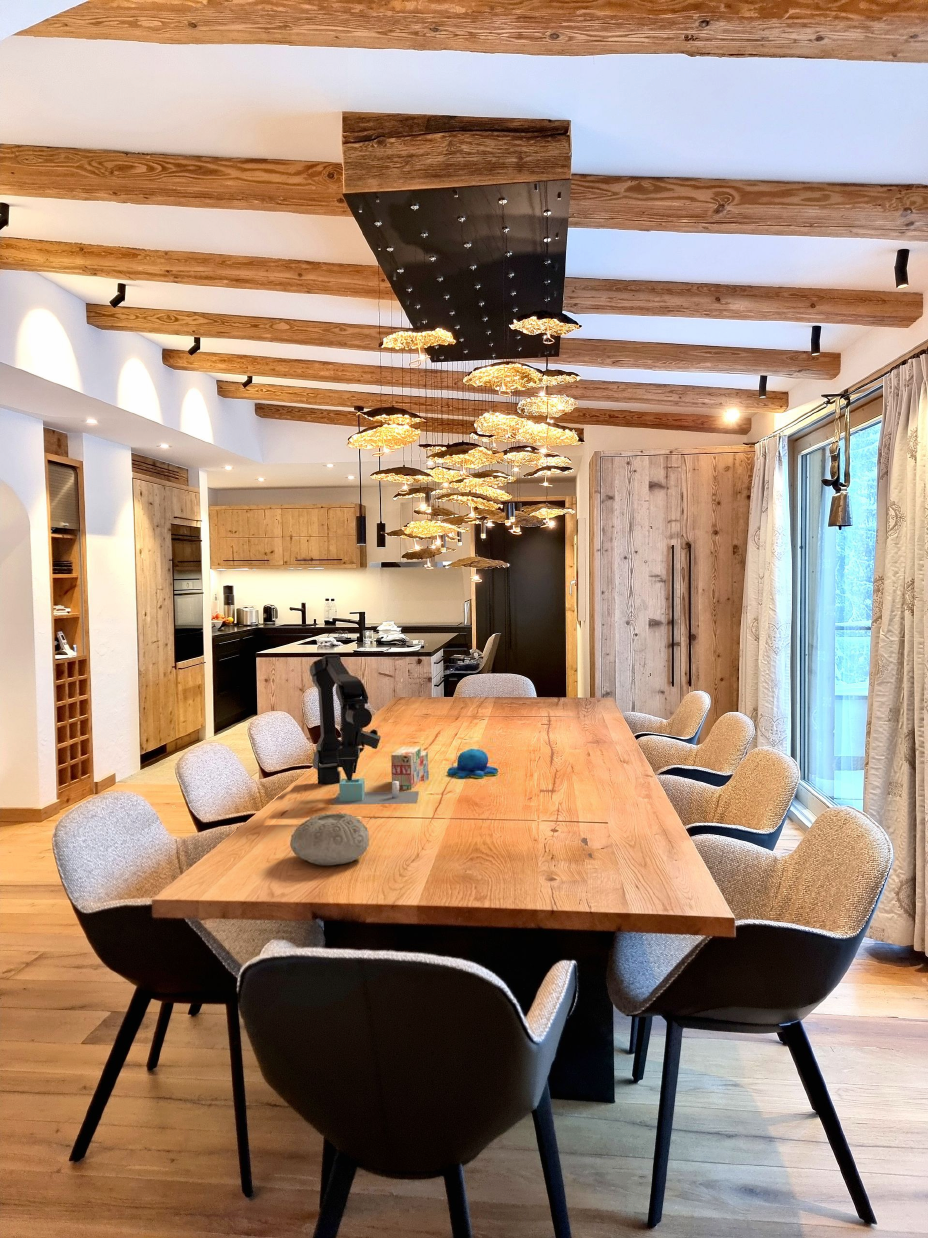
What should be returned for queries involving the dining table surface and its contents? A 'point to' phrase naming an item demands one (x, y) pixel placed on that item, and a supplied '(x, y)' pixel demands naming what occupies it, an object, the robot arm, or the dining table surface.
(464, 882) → the dining table surface
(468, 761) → the plush toy
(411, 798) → the grey piece
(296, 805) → the dining table surface
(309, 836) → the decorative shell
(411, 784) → the stack of blocks
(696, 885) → the dining table surface
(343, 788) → the teal hollow block
